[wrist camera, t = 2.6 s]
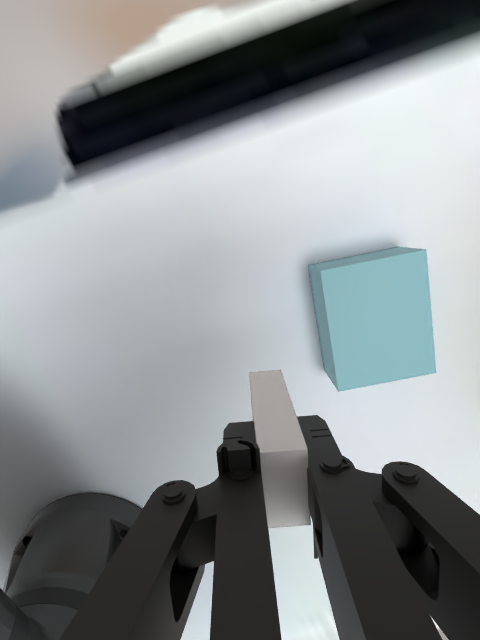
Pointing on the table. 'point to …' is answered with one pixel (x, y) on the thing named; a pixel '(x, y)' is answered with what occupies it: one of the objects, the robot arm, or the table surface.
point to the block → (374, 317)
